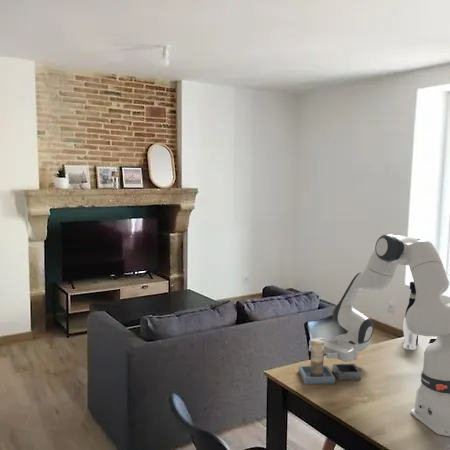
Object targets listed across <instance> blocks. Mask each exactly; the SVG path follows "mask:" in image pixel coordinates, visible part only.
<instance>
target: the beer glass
mask: <svg viewBox="0 0 450 450" xmlns="http://www.w3.org/2000/svg"><path fill="white" fill-rule="evenodd" d="M402 322H403V323H402V324H403V325H402V330H403V345H402V348H403V349H404V350H408V351H417V344H416V339H417V335H416V334H413V333H412V332H411V331H410V330H409V328H408V327H407V324H406V316H404V317H403V321H402Z"/></svg>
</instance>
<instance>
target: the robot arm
mask: <svg viewBox="0 0 450 450" xmlns="http://www.w3.org/2000/svg"><path fill="white" fill-rule="evenodd" d="M374 248H375V249H374V250H373V251H372V253H371V255H370V257H369V259H368V262H367V265H366V267H365V268H364V270H363V271H362V272H358V273H356V275H355V276H354V277H352V280H351V282H350V283H349V285H348V286H347V288H346V290H345V291H344V294H343V295H342V297H341V299H340V300H339V302H337V304H336V305H335V307H334V308H333V310H332V319H333V320H332V321H333V322H334V323H335V324H336V325H338V326H340V327H341V328H343V329H345V330H346V331H347V332H346V333H342V334H339V335H335V336H333V337H332V338H331V339H328V338H325V337H316V338H311V339H309V342H308V343H309V345H308V351H309V352H311V343H312V341H315V340H318V341H322V342H324V355H325V358H326V359H328V360H331V359H337V360H340V361H342V362H345V363H346V362H352V361H356V360H358V356H359V352H363V351H364V350H366V349H367V348H368V347H369V346H370V345H371V343H372V335H373V333H374V322H373V319H371V318H370V317H368V316H367V315H365V313H362V312H361V311H359V310H358V309H356V308H355V307H354V306H353V304H354V302H355V301H356V299H357V297H358V295H359V293H360V292H361V291H362V290H369V291H381V290H384V289H386V288H387V287H389V286H390V284H391V283H392V279H393V277H394V275H395V272H396V269H397V267H398V265H400V266H401V265H402V266H408V267H409V269H410V273H411V276H412V280H413V282H414V284H415V288H416V299H415V302H414V304H413V305H412V306H411V307H410V308H409V309H408V311H407V314H406V324H407V327H408V328H409V330H410V331H411V332H412V333H413V334H416V335H418V336H422V337H437V338H436V339H435V340H434V341H433V342H432V343H430V344H428V346H426V347H425V349H424V351H423V365H422V366H423V367H422V370H421V374H420V382H421V384H420V385H419V387H418V388H417V390H416V393H415V394H416V395H415V398H414V399H415V401H414V407H413V408H412V409H411V410H410V415H412V416H413V417H414V418H416V419H417V420H418V421H420V422H421V423H422V424H423V425H424V426H426V427H428V429H430V430H431V431H432V432H434V433H435V434H437V435H439V436H445V437H450V302H442V301H441V295H443V294H444V293H446V291H447V290H448V289H449V285H450V281H449V278H448V275H447V273H446V269H445V267H444V265H443V261H442V259H441V257H440V254H439V253H438V251H437V248H436V247H435V246H434V244H433V243H432V242H431V241H429V240H425V239H420V238H414V237H409V236H407V235H399V234H396V235H395V234H392V233H388V234H382V235H381V236H379V238H378V239H377V240H376V242H375V247H374Z"/></svg>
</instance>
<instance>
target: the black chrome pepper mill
mask: <svg viewBox="0 0 450 450" xmlns="http://www.w3.org/2000/svg"><path fill="white" fill-rule="evenodd" d="M409 290H410V294H409V298H408V305H407V306H406V310H405V313H404V314H405V316H406V314H407V311H408V309H409V308H410V307H411V306H412V305H413V304H414V302H415V299H416V288H415V284H414V281H410V282H409ZM418 342H419V335H417V339H416V345H418V344H419V343H418Z"/></svg>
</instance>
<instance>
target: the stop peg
mask: <svg viewBox="0 0 450 450" xmlns="http://www.w3.org/2000/svg"><path fill="white" fill-rule="evenodd" d="M324 355H325V354H324V342H322V341H318V340H315V341H312V343H311V351H310V366H311V367H310V376H311V377H323V366H324V359H325V357H324Z"/></svg>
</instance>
